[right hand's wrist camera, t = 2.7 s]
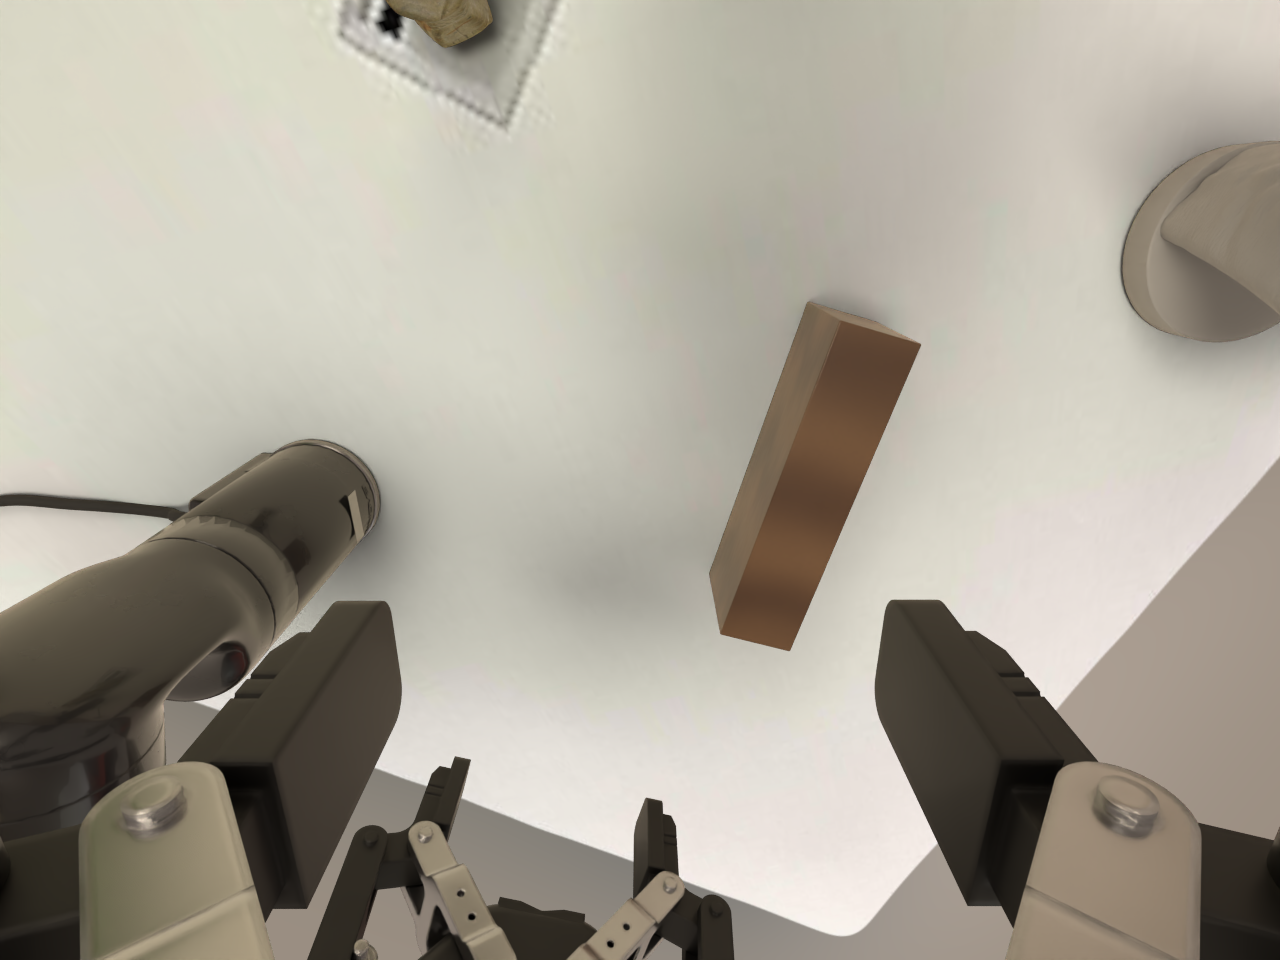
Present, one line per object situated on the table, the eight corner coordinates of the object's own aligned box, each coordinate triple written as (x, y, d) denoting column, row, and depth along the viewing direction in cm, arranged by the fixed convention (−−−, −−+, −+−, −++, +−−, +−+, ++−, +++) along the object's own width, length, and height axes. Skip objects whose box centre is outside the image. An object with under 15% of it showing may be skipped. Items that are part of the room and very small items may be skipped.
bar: (807, 301, 51) (840, 319, 42) (876, 321, 51) (922, 344, 43) (708, 574, 59) (719, 634, 51) (769, 589, 59) (790, 651, 51)
